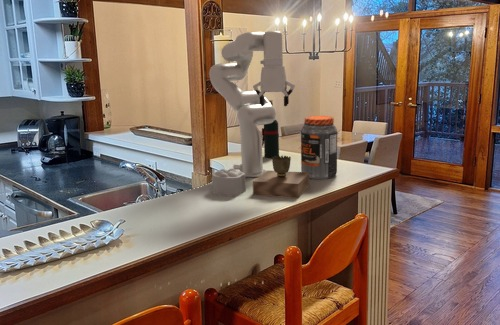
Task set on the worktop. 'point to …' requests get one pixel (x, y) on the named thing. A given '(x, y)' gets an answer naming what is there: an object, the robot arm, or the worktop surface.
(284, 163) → the cup
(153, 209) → the worktop surface
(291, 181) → the walnut block
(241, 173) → the grey studded block
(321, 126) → the supplement tub
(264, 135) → the wine bottle
